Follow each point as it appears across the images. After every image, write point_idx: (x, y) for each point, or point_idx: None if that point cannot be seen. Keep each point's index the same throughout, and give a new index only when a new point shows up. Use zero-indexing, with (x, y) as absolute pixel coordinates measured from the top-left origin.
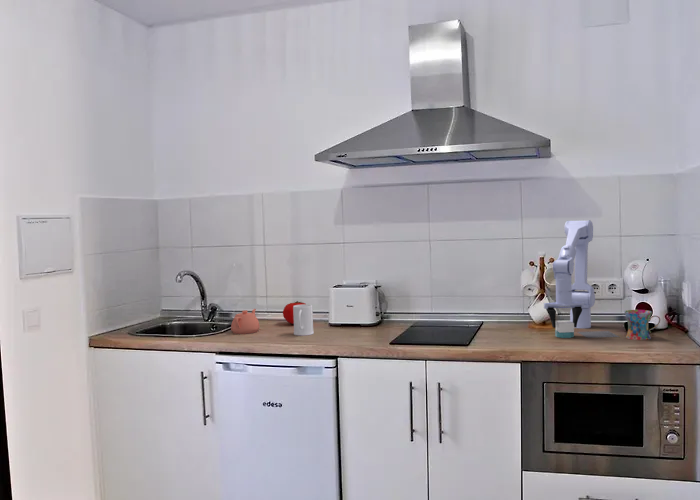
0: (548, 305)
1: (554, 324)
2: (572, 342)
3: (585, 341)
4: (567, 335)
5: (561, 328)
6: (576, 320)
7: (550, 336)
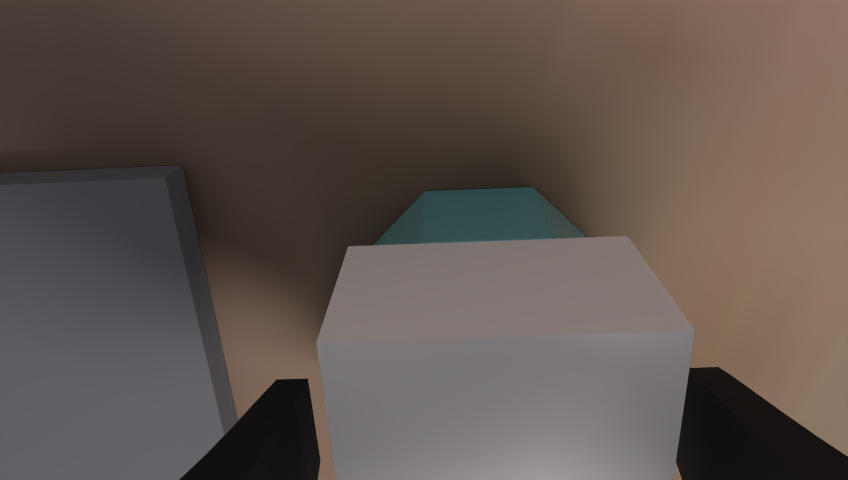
0: None
1: (749, 398)
2: (434, 12)
3: (212, 82)
4: (473, 215)
5: (604, 274)
6: (227, 461)
7: None
